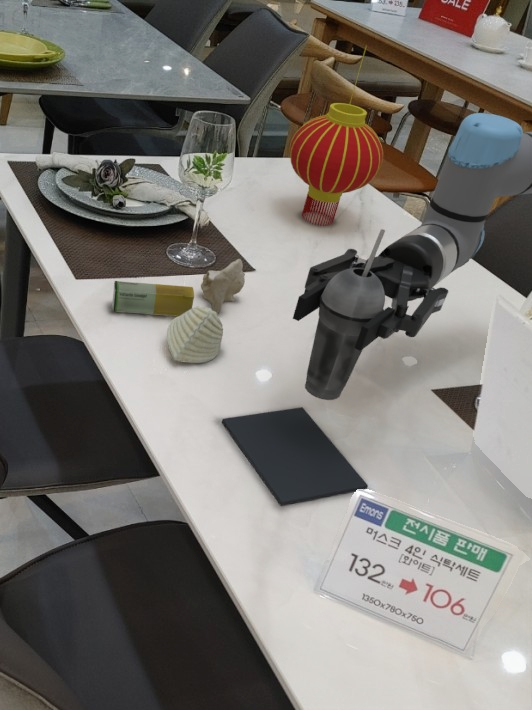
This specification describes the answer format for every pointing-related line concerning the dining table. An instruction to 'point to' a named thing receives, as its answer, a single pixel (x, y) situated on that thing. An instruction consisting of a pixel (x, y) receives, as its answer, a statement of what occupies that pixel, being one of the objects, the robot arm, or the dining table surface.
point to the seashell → (195, 335)
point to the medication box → (152, 298)
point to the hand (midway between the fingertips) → (329, 323)
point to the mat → (293, 455)
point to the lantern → (335, 156)
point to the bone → (223, 284)
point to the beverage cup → (342, 327)
